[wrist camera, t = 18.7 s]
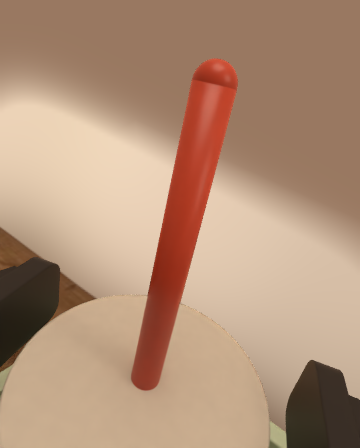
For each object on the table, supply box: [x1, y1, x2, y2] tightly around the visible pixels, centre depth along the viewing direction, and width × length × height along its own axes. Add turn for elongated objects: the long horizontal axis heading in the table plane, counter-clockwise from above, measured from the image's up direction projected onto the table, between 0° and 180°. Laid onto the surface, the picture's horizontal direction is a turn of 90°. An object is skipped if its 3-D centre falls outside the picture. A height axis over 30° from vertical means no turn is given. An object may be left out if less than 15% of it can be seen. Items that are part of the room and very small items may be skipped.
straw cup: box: [0, 59, 270, 448], centre depth 8 cm, size 6×6×17 cm
